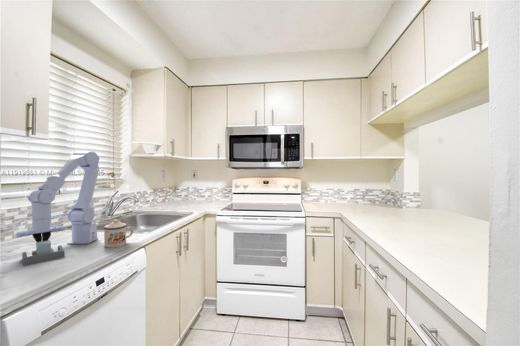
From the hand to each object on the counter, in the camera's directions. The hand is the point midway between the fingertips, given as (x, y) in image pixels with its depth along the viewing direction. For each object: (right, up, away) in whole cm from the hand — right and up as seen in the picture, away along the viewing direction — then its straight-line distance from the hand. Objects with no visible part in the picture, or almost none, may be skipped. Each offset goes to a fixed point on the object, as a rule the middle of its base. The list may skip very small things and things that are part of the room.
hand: (42, 251), depth 95 cm
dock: (+5, -1, -4) cm, 6 cm away
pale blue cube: (+5, +1, -4) cm, 6 cm away
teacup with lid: (+24, -1, +13) cm, 28 cm away
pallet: (+4, -1, -4) cm, 6 cm away
